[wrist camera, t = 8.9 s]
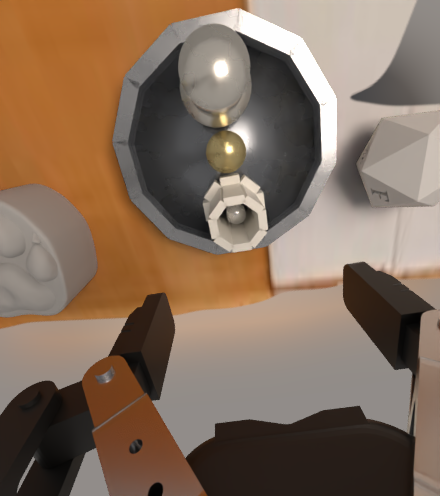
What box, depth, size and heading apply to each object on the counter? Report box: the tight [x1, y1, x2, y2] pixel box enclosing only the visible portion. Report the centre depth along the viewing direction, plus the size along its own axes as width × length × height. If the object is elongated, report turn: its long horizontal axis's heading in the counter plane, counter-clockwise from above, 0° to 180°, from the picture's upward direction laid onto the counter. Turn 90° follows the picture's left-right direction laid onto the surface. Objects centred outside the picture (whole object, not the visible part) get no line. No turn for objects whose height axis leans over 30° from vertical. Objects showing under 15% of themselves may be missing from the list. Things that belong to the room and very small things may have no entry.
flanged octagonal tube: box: [203, 173, 268, 253], centre depth 25 cm, size 6×6×8 cm
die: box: [356, 110, 440, 208], centre depth 24 cm, size 8×9×10 cm
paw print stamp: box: [0, 184, 97, 317], centre depth 27 cm, size 10×13×9 cm
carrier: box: [112, 8, 336, 255], centre depth 23 cm, size 21×21×9 cm
